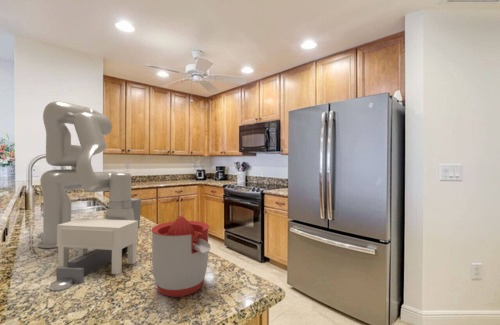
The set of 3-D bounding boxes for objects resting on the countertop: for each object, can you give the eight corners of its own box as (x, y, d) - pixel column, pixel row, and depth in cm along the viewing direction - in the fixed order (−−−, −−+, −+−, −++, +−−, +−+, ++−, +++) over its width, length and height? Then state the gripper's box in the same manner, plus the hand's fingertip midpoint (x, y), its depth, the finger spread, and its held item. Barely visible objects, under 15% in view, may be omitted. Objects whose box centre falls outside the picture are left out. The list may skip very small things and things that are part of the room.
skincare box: (118, 229, 132) (118, 198, 132) (129, 226, 138) (129, 197, 138) (130, 231, 128) (130, 199, 128) (141, 227, 135) (141, 198, 135)
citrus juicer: (183, 311, 59) (184, 226, 59) (138, 291, 68) (138, 217, 68) (224, 284, 72) (225, 215, 72) (182, 270, 82) (182, 208, 82)
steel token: (45, 290, 69) (45, 285, 69) (62, 282, 74) (62, 277, 74) (60, 293, 68) (60, 287, 68) (76, 284, 73) (76, 279, 73)
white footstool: (55, 270, 81) (55, 225, 81) (81, 258, 92) (81, 218, 92) (118, 275, 78) (118, 228, 78) (137, 262, 88) (137, 220, 88)
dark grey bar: (56, 281, 74) (56, 262, 74) (115, 251, 100) (115, 237, 100) (81, 283, 73) (81, 264, 73) (134, 251, 98) (134, 237, 98)
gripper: (93, 206, 93) (93, 256, 93) (133, 207, 91) (133, 258, 91) (108, 203, 101) (107, 249, 101) (145, 204, 99) (145, 251, 99)
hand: (120, 253), depth 96 cm, fingers closed on dark grey bar, 2 cm apart
